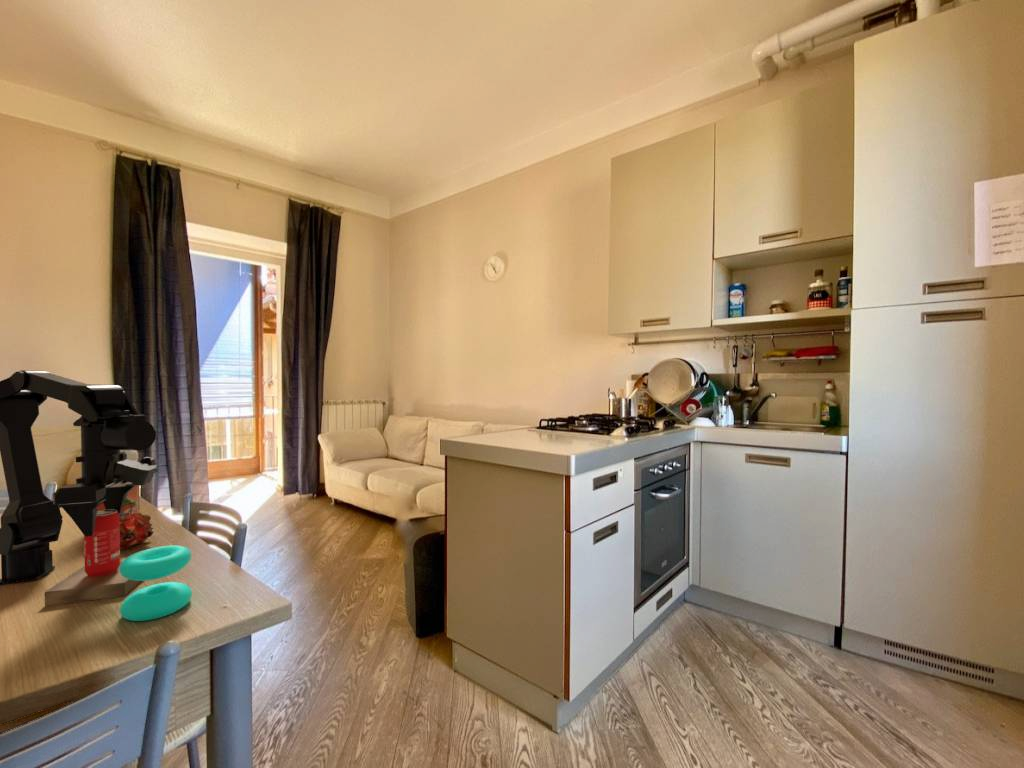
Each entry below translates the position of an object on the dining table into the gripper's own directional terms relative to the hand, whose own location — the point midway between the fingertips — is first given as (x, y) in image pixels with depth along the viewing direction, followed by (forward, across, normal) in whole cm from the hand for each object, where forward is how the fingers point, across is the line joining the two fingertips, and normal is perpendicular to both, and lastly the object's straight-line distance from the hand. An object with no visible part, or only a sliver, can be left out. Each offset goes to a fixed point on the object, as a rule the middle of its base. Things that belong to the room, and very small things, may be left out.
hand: (102, 528), depth 90 cm
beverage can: (+9, +1, 0) cm, 9 cm away
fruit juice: (+12, +46, +17) cm, 50 cm away
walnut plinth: (+12, 0, 0) cm, 12 cm away
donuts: (+12, -14, -14) cm, 23 cm away
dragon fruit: (+12, +26, +6) cm, 29 cm away
